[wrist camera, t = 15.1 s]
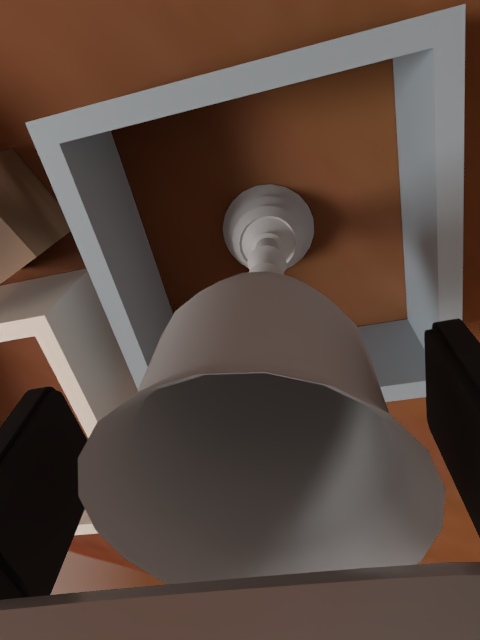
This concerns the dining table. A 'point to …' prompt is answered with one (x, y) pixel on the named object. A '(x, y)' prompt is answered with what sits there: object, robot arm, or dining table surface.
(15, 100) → the dining table surface
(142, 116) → the frame
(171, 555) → the chalice
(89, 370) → the frame
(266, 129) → the dining table surface
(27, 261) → the walnut block
